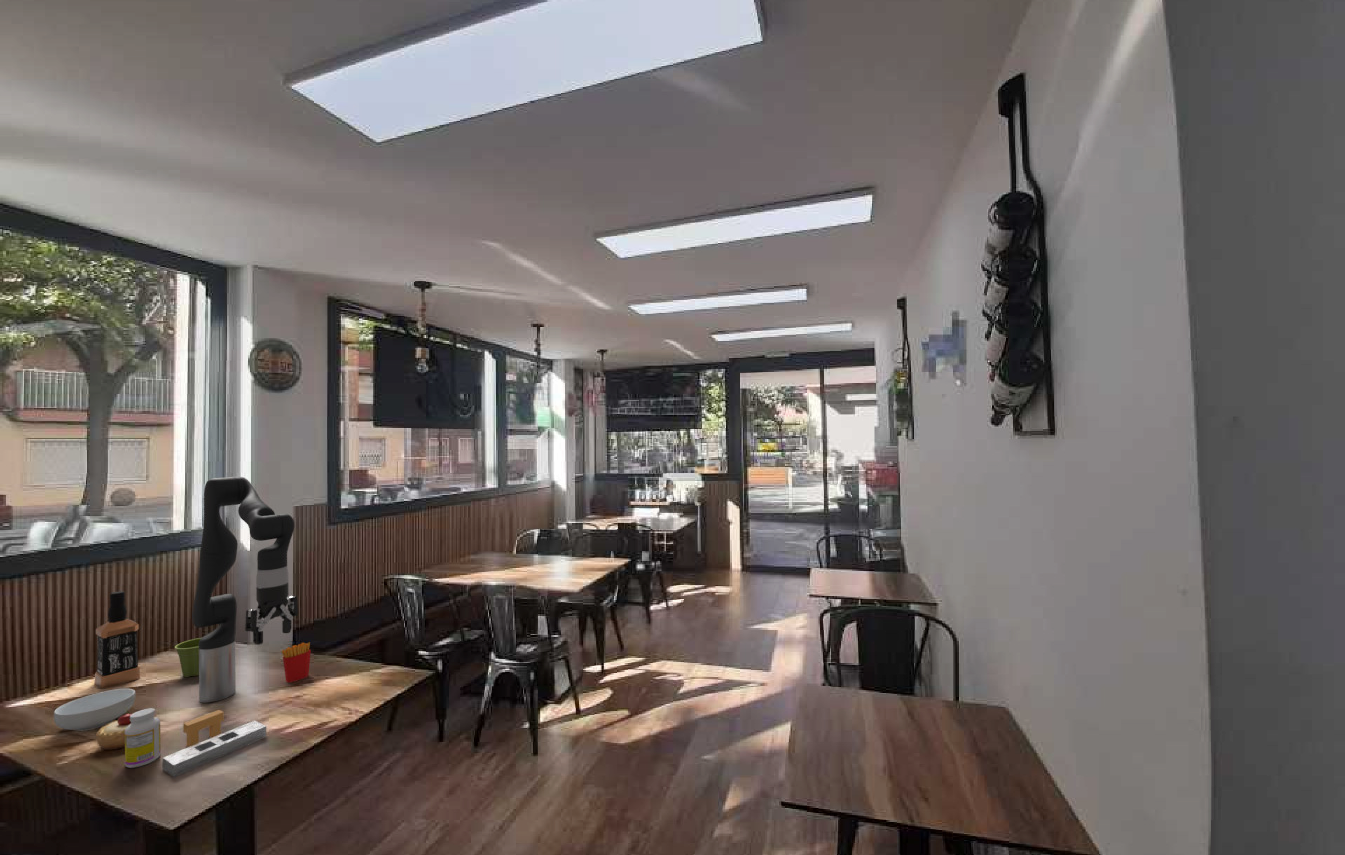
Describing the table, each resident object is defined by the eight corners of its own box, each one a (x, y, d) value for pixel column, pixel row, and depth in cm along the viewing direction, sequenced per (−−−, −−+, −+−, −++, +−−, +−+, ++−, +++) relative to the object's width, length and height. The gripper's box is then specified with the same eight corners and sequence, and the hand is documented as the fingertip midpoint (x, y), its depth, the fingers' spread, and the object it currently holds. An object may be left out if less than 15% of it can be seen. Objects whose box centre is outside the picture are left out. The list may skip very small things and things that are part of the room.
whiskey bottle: (140, 678, 191) (140, 590, 191) (101, 690, 182) (101, 597, 183) (132, 672, 196) (132, 587, 197) (93, 683, 188) (93, 593, 189)
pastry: (103, 759, 141) (101, 726, 141) (91, 745, 148) (90, 714, 147) (163, 735, 151) (161, 705, 151) (150, 724, 158) (149, 695, 158)
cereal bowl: (148, 714, 164) (148, 691, 164) (73, 743, 148) (73, 718, 149) (116, 706, 170) (115, 684, 170) (40, 734, 154) (40, 710, 154)
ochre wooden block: (183, 746, 145) (183, 723, 145) (219, 732, 152) (219, 709, 152) (187, 749, 144) (187, 725, 144) (223, 734, 151) (223, 712, 151)
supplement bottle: (141, 755, 142) (141, 707, 142) (167, 753, 142) (167, 705, 143) (117, 770, 135) (117, 720, 135) (144, 768, 136) (144, 718, 136)
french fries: (307, 673, 191) (307, 639, 191) (312, 675, 189) (312, 641, 189) (280, 682, 184) (279, 647, 184) (285, 684, 182) (284, 650, 182)
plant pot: (197, 680, 188) (197, 648, 188) (165, 680, 188) (165, 649, 188) (226, 665, 200) (226, 636, 200) (195, 666, 200) (195, 637, 200)
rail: (162, 769, 135) (162, 757, 135) (254, 730, 152) (254, 720, 152) (173, 777, 131) (173, 765, 131) (266, 736, 149) (266, 726, 149)
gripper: (284, 576, 162) (285, 628, 161) (237, 589, 148) (237, 647, 147) (304, 577, 160) (305, 630, 160) (259, 590, 146) (259, 649, 146)
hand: (272, 638), depth 154 cm, fingers open, 8 cm apart
